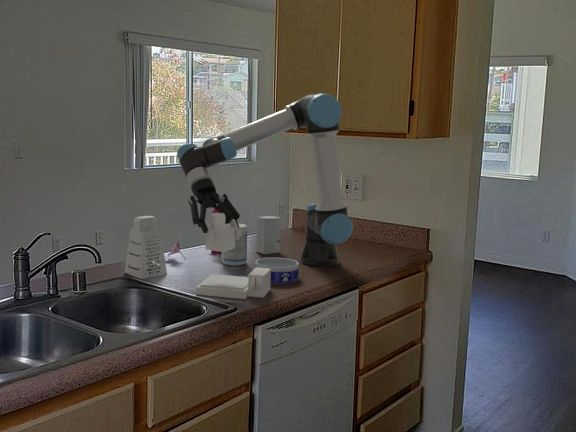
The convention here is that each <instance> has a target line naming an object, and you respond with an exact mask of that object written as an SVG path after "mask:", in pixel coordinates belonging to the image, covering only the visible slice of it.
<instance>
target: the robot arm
mask: <svg viewBox="0 0 576 432" xmlns="http://www.w3.org/2000/svg"><path fill="white" fill-rule="evenodd" d="M342 113H343V112H342V105H341V103H340V102H339V100H338V99H337V98H336V97H335V96H333V95H331V94H328V93H325V92H323V93H322V92H320V93H311V94H307V95H306V96H304V97H301V98H300V99H298V100H296V101H294V102H291V103H290V104H288V105H285V107H284V109H283V110H280V111H277V112H275V113H272V114H270V115H267V116H265V117H263V118H260V119H258V120H255V121H252V122H250V123H247V124H245V125H243V126H240V127H237V128H234V129H233V130H230V131H228V132H225V133H223V134H221V135H217V136H215V137H212V138H210V137H209V139H208V138H207V139H206V140H205V141H204V142H203V143H202V145H201V146H197V145H196V144H195V143H185V144H183V145H181V146H180V147H178V149H177V152H176V156H177V159H178V162H179V164H180V165H179V166H180V168H181V170H182V171H183V174H184V175H185V178H186V180H187V182H188V184H189V187H190V189H191V192H192V195H190V197H189V199H188V204H189V206H190V213H191V219H192V224H193V225H197V227H198V228H200V229H201V231H202V233H203V234H205V237H206V236H207V238H208V240H209V243H212V241H213V240H214V238H215V237H214V235H213V232H212V230H211V228H210V227H211V225H210V224H209V222H208V220H206V216H207V215H206V213H207V209H209V208H211V209H213V210H214V209H215V210H218V211H219V212H227V213H229V214H230V226H231V227H235V238H236V240H238V239H239V238H240V237H241V232H240V230H239V224H240V223H239V222H238V220H239V219H240V217H241V215H240V213H239V212H238V210H237V209H236V208H235V207H234V205H233V203H232V202H231V201H230V199H229V198H228V196H227V193H224V194H223V195H221V194H219V193H218V192H217V191H216V186H215V184H214V182H213V180H212V177H211V175H210V172H209V171H208V169H207V168H210V167H213V166H215V165H219V164H221V163H223V162H227V161H230V160H231V159H234V158H236V157H237V156H238V154H237V153H238V152H237V151H240V150H242V149H245V148H247V147H251V146H252V145H255V144H257V143H260V142H262V141H265V140H267V139H269V138H270V139H271V138H272V137H275V136H277V135H279V134H282V133H285V132H287V131H290V130H291V129H292V130H294V131H297V130H300V129H301V128H302V129H303V128H305V129H306V135H307V136H309V137H310V138H311V144H312V145H311V146H312V153H313V162H314V163H313V164H314V172H315V174H314V175H315V181H316V182H315V183H316V191H317V192H316V193H317V201H318V203H309V204H307V207H306V212H305V215H306V216H305V217H306V220H305V242H304V245H303V248H302V251H301V253H300V260H299V261H300V263H302V264H304V265H309V266H315V267H331V266H336V264H337V265H339V263H340V256H339V252H338V248H337V245H341V244H343V243H345V242H346V241H347V240H349V238H350V237H351V236H352V233H353V229H354V227H353V222H352V220H351V218H350V217H349V215H348V204H347V203H345V202H344V201H343V198H342V197H343V196H342V188H341V187H342V186H341V177H340V168H339V158H338V157H339V156H338V147H337V137H336V136H337V134H338V133H339V131H340V123H339V122H340V119H341V117H342ZM198 204H199V205H200V209H199V208H198ZM199 210H200V211H199Z"/></svg>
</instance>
